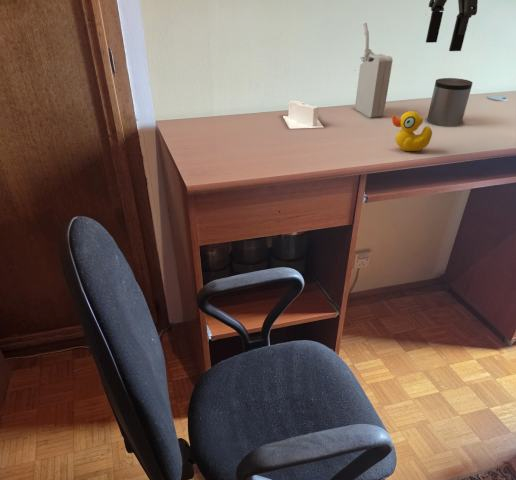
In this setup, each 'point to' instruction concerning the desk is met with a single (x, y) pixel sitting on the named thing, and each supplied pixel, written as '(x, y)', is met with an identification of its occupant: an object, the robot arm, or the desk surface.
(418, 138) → the duckling
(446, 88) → the jar
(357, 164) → the desk surface
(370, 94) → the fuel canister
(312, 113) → the napkin holder
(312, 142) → the desk surface
